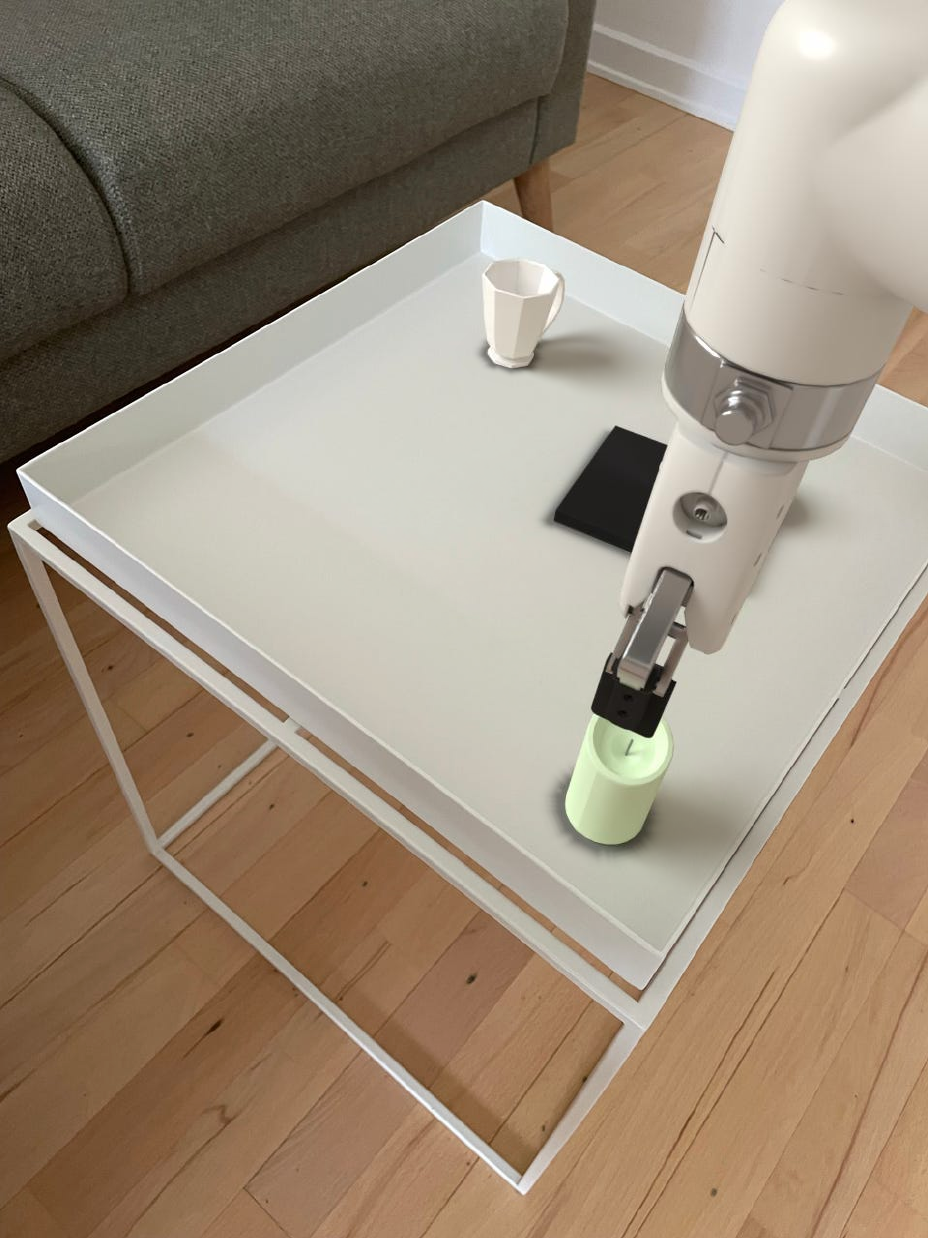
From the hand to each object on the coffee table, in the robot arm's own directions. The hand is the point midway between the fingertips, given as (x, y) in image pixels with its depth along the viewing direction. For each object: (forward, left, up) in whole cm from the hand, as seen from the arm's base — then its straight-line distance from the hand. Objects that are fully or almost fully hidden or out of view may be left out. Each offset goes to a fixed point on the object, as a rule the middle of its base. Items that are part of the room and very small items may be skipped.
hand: (656, 654), depth 50 cm
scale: (+6, -29, -15) cm, 33 cm away
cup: (+26, -43, -15) cm, 52 cm away
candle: (0, 0, -15) cm, 15 cm away
